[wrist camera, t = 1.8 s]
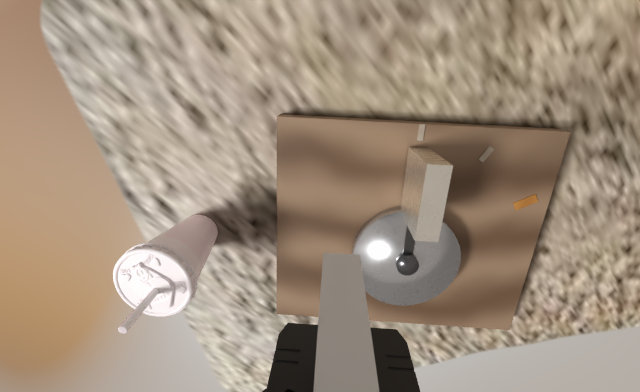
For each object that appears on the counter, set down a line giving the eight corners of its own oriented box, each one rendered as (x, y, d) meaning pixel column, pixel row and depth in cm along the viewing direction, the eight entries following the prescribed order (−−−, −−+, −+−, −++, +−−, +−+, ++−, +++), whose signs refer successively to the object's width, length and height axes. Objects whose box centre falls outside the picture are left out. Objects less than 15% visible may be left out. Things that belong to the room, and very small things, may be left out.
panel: (280, 114, 30) (276, 116, 28) (555, 128, 29) (571, 132, 27) (279, 301, 37) (276, 314, 35) (500, 316, 36) (510, 330, 34)
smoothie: (194, 265, 36) (112, 373, 23) (158, 218, 34) (47, 305, 21) (241, 242, 35) (184, 341, 21) (207, 191, 33) (122, 267, 20)
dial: (361, 144, 28) (368, 160, 23) (477, 150, 28) (512, 168, 22) (348, 292, 34) (350, 335, 28) (445, 299, 33) (467, 343, 28)
